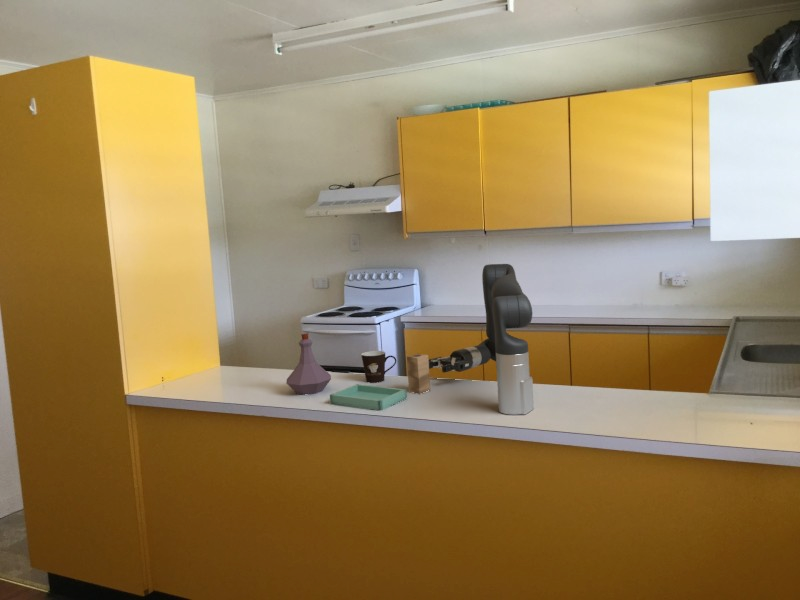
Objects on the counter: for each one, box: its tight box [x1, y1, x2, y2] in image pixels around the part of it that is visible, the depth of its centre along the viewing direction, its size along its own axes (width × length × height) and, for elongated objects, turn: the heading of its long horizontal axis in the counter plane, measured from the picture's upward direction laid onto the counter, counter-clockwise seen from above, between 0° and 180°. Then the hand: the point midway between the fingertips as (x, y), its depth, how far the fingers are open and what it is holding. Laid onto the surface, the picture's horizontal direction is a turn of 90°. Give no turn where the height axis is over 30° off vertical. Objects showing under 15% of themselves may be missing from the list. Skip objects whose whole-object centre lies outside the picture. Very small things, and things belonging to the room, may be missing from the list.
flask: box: [286, 333, 332, 396], centre depth 232 cm, size 16×16×20 cm
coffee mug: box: [360, 350, 397, 384], centre depth 241 cm, size 12×9×10 cm
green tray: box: [329, 383, 408, 411], centre depth 215 cm, size 20×14×3 cm
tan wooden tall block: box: [406, 353, 431, 395], centre depth 222 cm, size 5×5×12 cm
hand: (433, 368), depth 227 cm, fingers open, 8 cm apart
